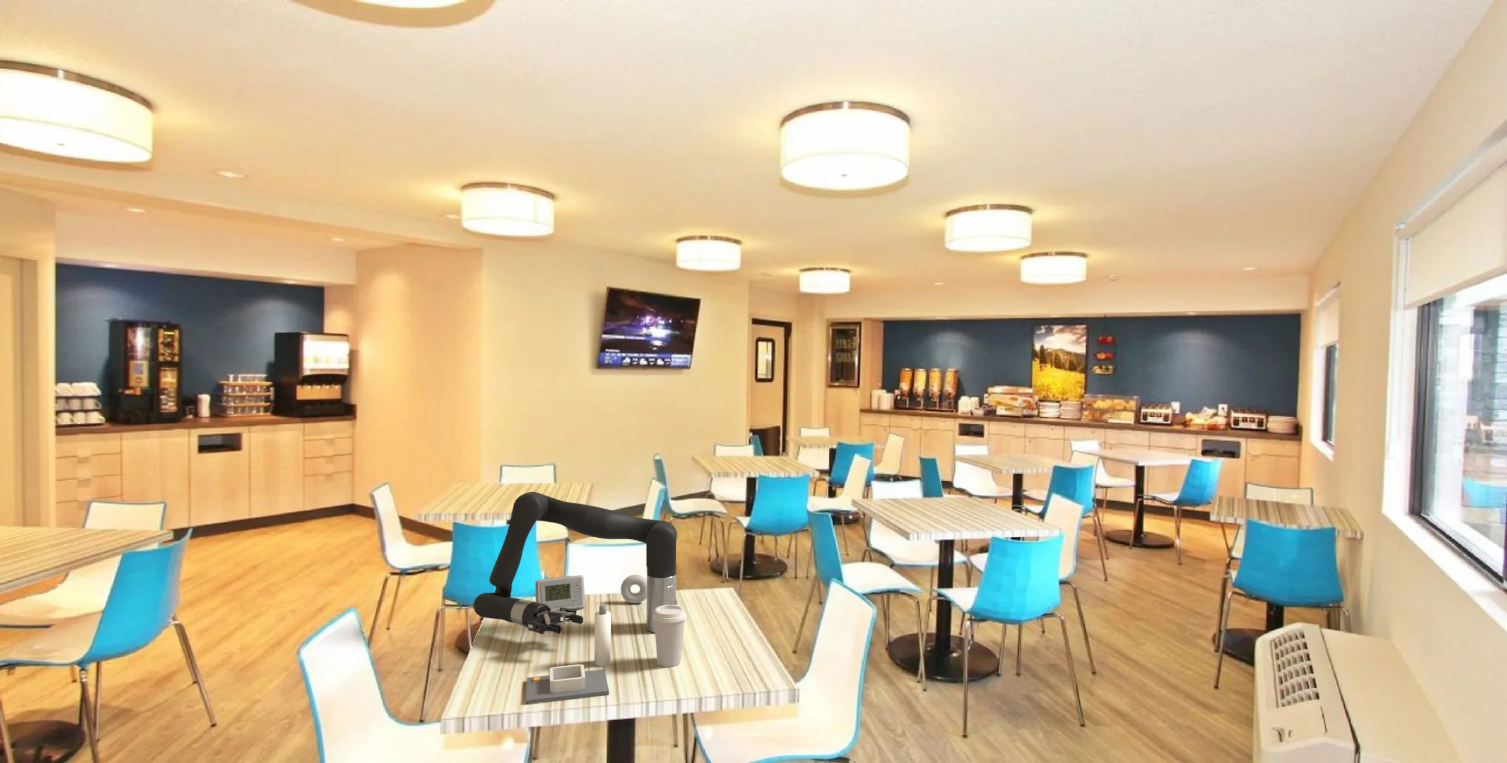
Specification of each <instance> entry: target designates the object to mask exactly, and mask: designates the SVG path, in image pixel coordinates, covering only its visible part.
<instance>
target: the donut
mask: <svg viewBox="0 0 1507 763" xmlns="http://www.w3.org/2000/svg"><path fill="white" fill-rule="evenodd" d="M635 585H636V586H638V587H639V591H638V592H637V593H633V592H632V590H631V588H632V586H635ZM620 593H621V594H620V595H621V597H622V598H623V599H624V600H625V601H626V602H628V603H630V604H635V605H636V604H640V603H641V602H643V601H645V600H647V578H645V577H644V576H642V575H640V574H631V575H629V576H627V577H626V578H624V580H623V581H622V583H621V586H620Z"/></svg>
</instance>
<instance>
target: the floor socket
mask: <svg viewBox="0 0 1507 763" xmlns="http://www.w3.org/2000/svg"><path fill="white" fill-rule="evenodd" d="M525 691H526V692H525V694H526V695H525V697H526V698H525V699H526V700H525V704H526V703H534V704H540V703H539V702H542V703H548V702H557V701H566V700H577V699H584V698H591V697H593V698H594V697H601V696H610V690H609V684H608V679H607V674H606V671H605V669H604V668H603V669H594V670H588V671H586V670H585V666H584V664H571V665H570V664H569V665H562V666H552V667H549V675H541V676H531V677H530V676H529V677H526V690H525Z"/></svg>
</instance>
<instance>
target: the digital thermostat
mask: <svg viewBox="0 0 1507 763" xmlns="http://www.w3.org/2000/svg"><path fill="white" fill-rule="evenodd" d="M584 579H585V578H584V576H583V575H581V574H577V575H567V576H556V577H548V578H542V579H537V580H536V581H535V582H534V584H535V602H538V603H542V604H546V605H548V606H549V608H550V609H551V611H552V610H555V611H560V608H561V607H562V608H567V609H572V610H580V609H581V610H582V609H584V608H585V607H586V595H585V580H584Z"/></svg>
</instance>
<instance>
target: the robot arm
mask: <svg viewBox="0 0 1507 763" xmlns="http://www.w3.org/2000/svg"><path fill="white" fill-rule="evenodd" d="M536 522H547V523H551V524H557V525H561V526H562V527H565V528H568V529H569V530H572V531H574V532H576V533H579V534H582V535H585V536H589V537H593V538H597V539H603V540H632V541H636V542H640V543H643V544H646V545H645V547H646V548H645V549H646V550H645V562H646V564H645V565H646V580H647V598H646V621H645V624H646V626H645V627H646V628H645V629H646V630H647V631H648V632H651V633H654V634H655V625H654V620H653V618H652V616H653V613H654V612H655V609H656V608H657V607H659V606H662V605H678V598H677V541H678V540H677V538H678V532H677V528H676V527H675V525H674V524H672V523H670V522H669V521H665V520H660V519H659V520H658V519H651V518H642V517H638V516H634V515H633V516H632V515H630V514H627V513H623V512H620V511H616V510H612V509H608V508H603V507H600V506H595V505H591V504H590V505H589V504H584V503H579V502H578V503H577V502H569V501H565V500H562V499H561V500H560V499H557V498H554V497H552V496H549V495H546V494H543V493H541V492H538V491H537V492H536V491H527V492H525V493H523V494H520V495H519V496H518V497H517V498H516V499H515V500H514V502H513V506H512V509H511V516H510V520H509V525H508V528H507V530H506V531H507V532H506V535H505V538H504V541H503V543H502V546H501V549H500V551H499V553H498V556H497V557H496V560H495V563H494V565H493V568H492V570H491V573H490V574H489V575H490V576H489V579H488V580H489V584H491V585H492V586H493V587H495V591H494V592H482V593H480V594H479V595H477V597H475V598H474V600H473V605H472V606H473V610H474V613H475V614H476V615H477V616H479V617H481V618H484V619H493V620H502V621H505V622H508V623H511V624H515V625H517V626H519V627H524V628H526V629H528V630H527V631H531V632H534V633H537V634H541V635H543V634H545V633H554V634H559V635H560V634H562V633H563V625H564V624H566V623H574V624H577V625H582V624H583V623H584V616H583V615H579V614H577V610H578V609H575V610H572V609H567V608H562V607H561V608H560V611H555V610H552V611H551V609H550V608H549V606H548V605H546V604H542V603H538V602H536V601H533V600H529V599H528V600H527V599H522V598H517V597H512V591H513V590H512V589H513V581H514V579H515V578H516V575H517V573H518V569H519V567H520V564H521V560H522V556H523V553H524V548H525V545H526V542H527V539H528V537H529V535H530V532H532V529H533V527H534V526H535V524H536ZM561 618H562V620H561Z"/></svg>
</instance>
